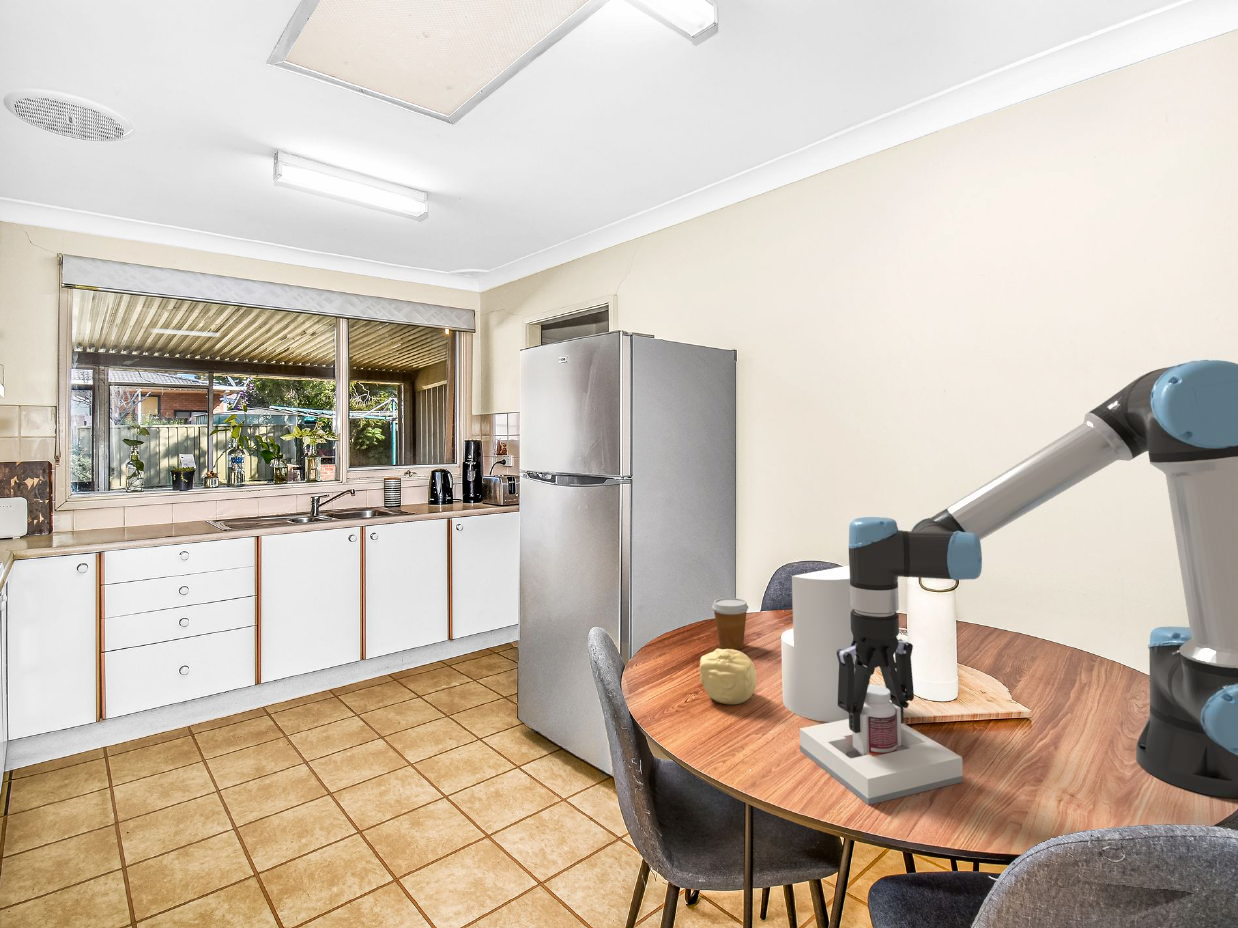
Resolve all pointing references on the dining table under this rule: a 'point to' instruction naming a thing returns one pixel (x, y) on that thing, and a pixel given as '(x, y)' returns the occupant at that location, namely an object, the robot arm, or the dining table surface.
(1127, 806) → the dining table surface
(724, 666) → the sculpture
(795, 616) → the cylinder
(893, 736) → the pill bottle
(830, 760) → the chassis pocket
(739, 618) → the disposable coffee cup
